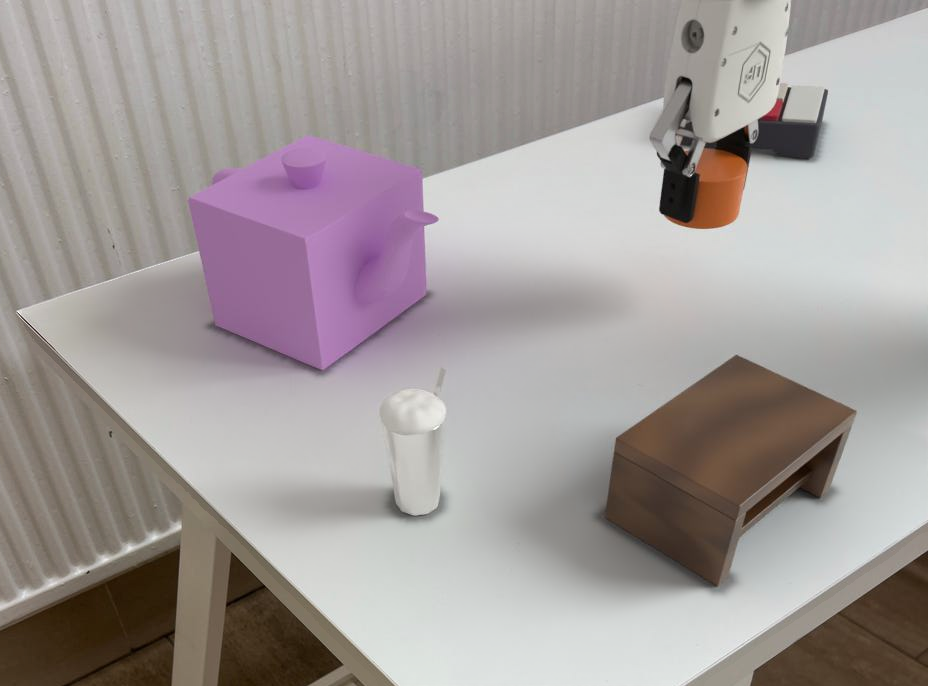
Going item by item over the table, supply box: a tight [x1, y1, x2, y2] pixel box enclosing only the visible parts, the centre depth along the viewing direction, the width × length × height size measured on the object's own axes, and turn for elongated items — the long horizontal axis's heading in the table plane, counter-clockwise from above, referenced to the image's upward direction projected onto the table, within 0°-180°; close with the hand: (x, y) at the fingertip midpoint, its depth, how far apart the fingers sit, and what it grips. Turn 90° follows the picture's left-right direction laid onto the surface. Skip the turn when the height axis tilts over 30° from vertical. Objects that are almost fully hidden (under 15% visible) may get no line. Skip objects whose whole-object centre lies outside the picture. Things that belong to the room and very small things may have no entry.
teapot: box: [187, 134, 440, 371], centre depth 85 cm, size 15×25×14 cm, turn 54°
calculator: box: [681, 82, 829, 159], centre depth 113 cm, size 11×4×15 cm
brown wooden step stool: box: [604, 354, 858, 587], centre depth 69 cm, size 10×14×7 cm
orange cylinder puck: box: [663, 148, 748, 230], centre depth 83 cm, size 7×7×4 cm
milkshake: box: [379, 367, 447, 517], centre depth 69 cm, size 4×5×10 cm
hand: (701, 200), depth 84 cm, fingers closed on orange cylinder puck, 6 cm apart
